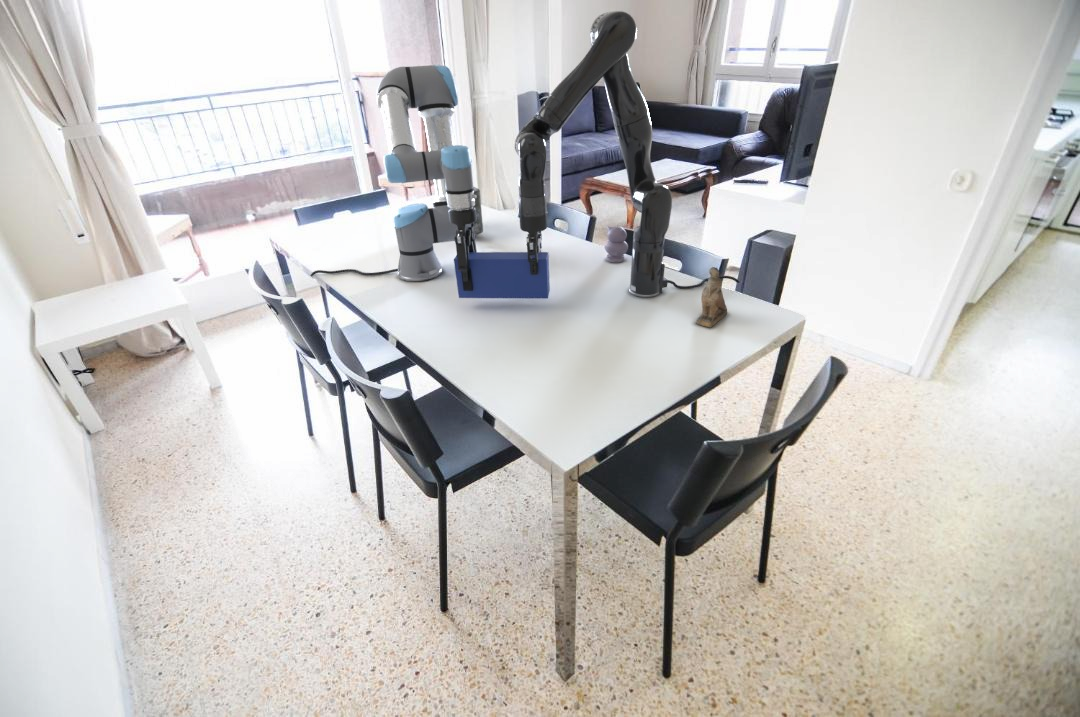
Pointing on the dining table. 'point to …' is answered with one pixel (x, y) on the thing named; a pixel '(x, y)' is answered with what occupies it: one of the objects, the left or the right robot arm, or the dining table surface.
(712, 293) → the brown carved statuette
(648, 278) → the right robot arm
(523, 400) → the dining table surface
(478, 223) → the concrete block
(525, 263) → the box
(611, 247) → the cat figurine
